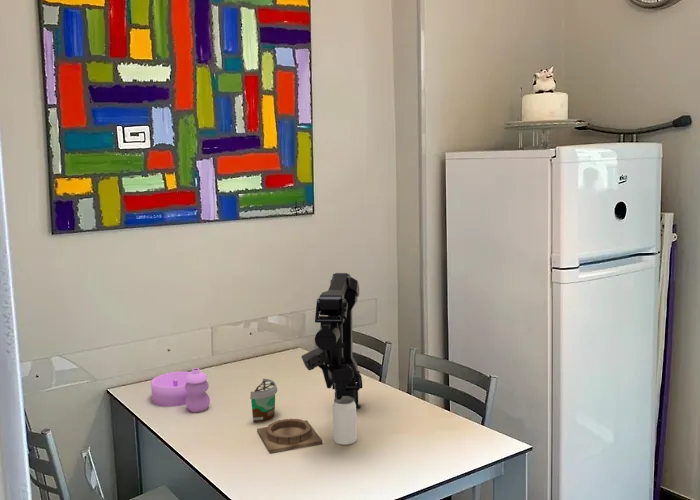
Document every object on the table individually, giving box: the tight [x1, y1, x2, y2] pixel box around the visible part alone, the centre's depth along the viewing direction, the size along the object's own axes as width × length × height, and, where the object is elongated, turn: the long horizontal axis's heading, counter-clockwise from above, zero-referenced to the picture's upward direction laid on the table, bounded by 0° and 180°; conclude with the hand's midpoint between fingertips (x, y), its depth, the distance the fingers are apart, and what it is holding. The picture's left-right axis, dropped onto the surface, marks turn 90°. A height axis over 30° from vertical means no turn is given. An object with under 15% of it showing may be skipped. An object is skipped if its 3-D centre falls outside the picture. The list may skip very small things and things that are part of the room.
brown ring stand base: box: [256, 418, 324, 454], centre depth 199 cm, size 15×15×3 cm
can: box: [332, 396, 358, 446], centre depth 196 cm, size 6×6×12 cm
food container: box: [249, 378, 278, 424], centre depth 214 cm, size 12×6×10 cm, turn 168°
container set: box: [150, 367, 211, 413], centre depth 227 cm, size 25×15×13 cm, turn 43°
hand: (333, 393), depth 196 cm, fingers open, 9 cm apart
